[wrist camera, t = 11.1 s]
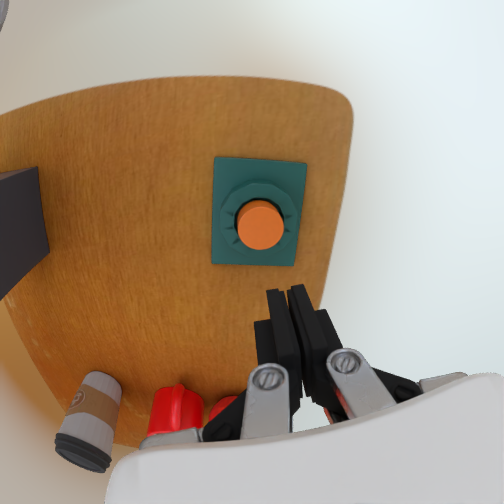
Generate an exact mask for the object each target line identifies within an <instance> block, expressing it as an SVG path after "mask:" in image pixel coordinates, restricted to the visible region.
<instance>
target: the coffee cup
mask: <svg viewBox="0 0 504 504" xmlns="http://www.w3.org/2000/svg"><path fill="white" fill-rule="evenodd" d="M121 395H122V390H121V386H120V384H119V383H118V382H117V381H116V380H115V379H114V378H112V377H111V376H109V375H107V374H105V373H102V372H98V371H93V372H90V373H89V374H87V375H86V377H85V379H84V380H83V382H82V384H81V386H80V387H79V389H78V391H77V393H76V395H75V397H74V399H73V401H72V403H71V405H70V407H69V409H68V411H67V413H66V417H65V419H64V421H63V423H62V426H61V428H60V430H59V432H58V433H57V434H56V439H55V444H56V448H55V451H56V452H57V453H58V454H59V455H60V456H62V457H63V458H64V459H66V460H67V461H69V462H71V463H73V464H75V465H77V466H79V467H82V468H84V469H86V470H90V471H93V472H97V473H105V471H106V468H108V467H109V466H110V462H111V461H112V459H111V451H112V444H113V438H114V435H115V429H116V423H117V418H118V412H119V405H120V400H121Z"/></svg>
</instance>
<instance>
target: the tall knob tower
mask: <svg viewBox="0 0 504 504" xmlns="http://www.w3.org/2000/svg"><path fill="white" fill-rule="evenodd" d="M49 253H50V250H49V246H48V241H47V236H46V231H45V225H44V219H43V213H42V206H41V198H40V190H39V179H38V167H31V168H25V169H20V170H14V171H9V172H4V173H0V301H1V300H2V298H3V297H4V296H5V295H6V294H7V293H8V292H9V291H10V290H11V289H12V288H13V287H14V286H15V285H16V284H17V283H18V282H19V281H20V280H21V279H22V278H23V277H24V276H25V275H26V274H27V273H28V272H29V271H30V270H31V269H32V268H33V267H34V266H36V265H37V264H38V263H39V262H40V261H41V260H42V259H43V258H44V257H45V256H47V255H48V254H49Z"/></svg>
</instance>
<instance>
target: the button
mask: <svg viewBox="0 0 504 504" xmlns="http://www.w3.org/2000/svg"><path fill="white" fill-rule="evenodd" d="M237 225H238V234H239V237H240V239H241V241H242V242H243V243H244V244H245V245H246V246H248V247H250V248H252V249H256V250H263V249H268V248H270V247H272V246H274V245H275V244H276V243H277V242H278V241H279V240H280V238H281V237H282V234H283V230H284V224H283V221H282V218H281V216H280V214H279V212H278V211H277V209H276V208H275V207H274V206H273V205H272V204H271V203H269V202H267V201H263V200H255V201H252V202H249V203H247V204H246V205H245V206H244V207H243V208H242V209H241V210H240V212H239V214H238V218H237Z"/></svg>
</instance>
